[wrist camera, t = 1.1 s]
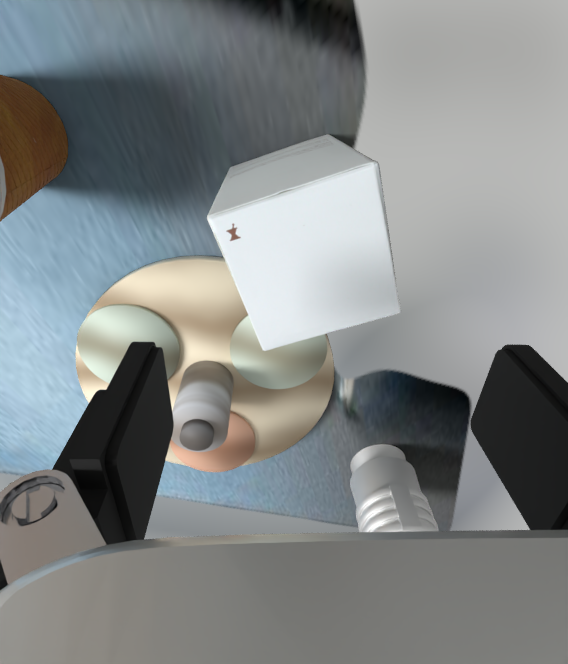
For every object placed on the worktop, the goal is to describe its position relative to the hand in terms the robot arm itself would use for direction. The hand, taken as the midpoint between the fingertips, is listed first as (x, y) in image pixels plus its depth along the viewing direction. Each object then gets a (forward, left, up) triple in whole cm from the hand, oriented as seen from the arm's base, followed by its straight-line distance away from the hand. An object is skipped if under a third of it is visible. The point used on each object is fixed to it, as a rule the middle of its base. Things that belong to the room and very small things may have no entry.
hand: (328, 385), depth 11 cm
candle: (+27, +10, -20) cm, 35 cm away
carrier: (+15, -7, -20) cm, 26 cm away
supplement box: (0, 0, -21) cm, 21 cm away
